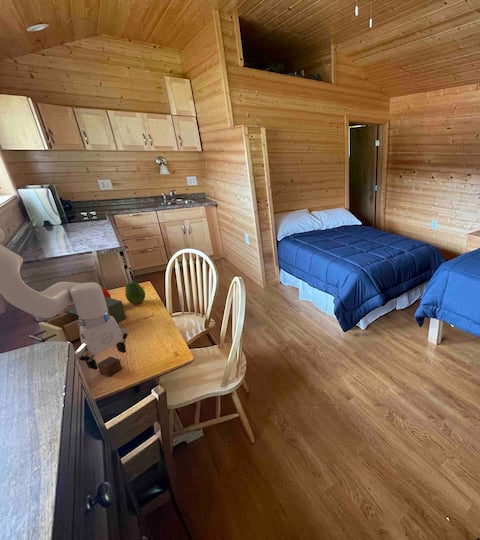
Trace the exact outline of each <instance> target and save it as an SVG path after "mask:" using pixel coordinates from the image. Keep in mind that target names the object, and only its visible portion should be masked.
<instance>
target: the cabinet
mask: <svg viewBox="0 0 480 540" xmlns="http://www.w3.org/2000/svg"><path fill="white" fill-rule="evenodd" d="M104 298H105V301H106V305H107V308H108V312H109V315H110V316H112V317H113V318H114V319H115V321H116V322H117V324H118V325H119V324H120V323H122V322H123V321H126V320H127V316H126V312H125V307H124V305H123V301H122V300H119V299H115V298H112V297H111V298H108V297H105V296H104ZM66 313H71V314H74V315H78V314H77V311H76V308H75V305H74V306H71V307H67V308H65V309H64V314H66Z"/></svg>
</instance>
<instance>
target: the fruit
mask: <svg viewBox="0 0 480 540" xmlns="http://www.w3.org/2000/svg"><path fill="white" fill-rule="evenodd" d="M124 290H125V293H124V294H125V298H126V300H127V302H129V303H131V304H133V305H137V304H141V303H142V302H144V300H145V298H146V292H145V289H144V288H143V287H142V286H141V285H140V284H139V283H138V282H136V281H135V280H134V281H133V280H132V281H128V282H127V283H126V285H125V289H124Z"/></svg>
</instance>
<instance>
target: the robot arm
mask: <svg viewBox="0 0 480 540" xmlns="http://www.w3.org/2000/svg"><path fill="white" fill-rule="evenodd" d="M5 237H6V234H5V232H4V229H2V228H1V227H0V294H1V296H2V297H3V298H4V299H5V301H7V302H8V303H9V304H10V305H12V306H14V307H15V308H17V309H19V310H21V311H23V312H25V313H27V314H29V315H32V316H34V317H35V316H38V317H43V318H49V317H53V316H55V317H57V315H59V314H61V313H62V312H63V311H65V310H66V309H68V308H69V306H72V305H74V306H75V308H76V311H77V314H78V317H79V322H78V323H76V326H77V327H80V337H79V339H80V343H81V345H80V346H79V348H78V349H77V350H75V352H74V353H75V354H76V356H77V358H76V359H77V360H79V361H82V362H83V361H84V362H85V363H86V366H87V367H88V368H89V369H92V370H95V371H96V370H99V368H98V365H97V364H98V363H97V361H96V359H95V355H96V356H97V355H98V354H101V353H103V352H105V351H106V350H108V349H110V348H112V347H114V346H115V345H116V348H117V352H120V353H122V354H126V353H127V350H126V349H127V347H126V344H125V343H126V339H127V337H128V335H129V330H130V328H129V327H126V326H122V327H121V326H120V325H119V323H118V324H117V322H116V321H115V319H114V318H113V317H112V316H110V315H109V312H108V308H107V305H106V301H105V298H104V295H103V291H102V288H103V287H102V286H101V284H99V283H98V282H93V281H91V282H83V283H82V282H73V281H59V282H56V283H54V284H52V285H51V286H49V287H47V288H45V289H44V290H42V291H43V292H41V293H39V292H40V291H38V290H35V289H34V288H32V287H31V286H29V285H28V284H26V282H24V280H23V279H22V276H21V268H22V266H23V264H24V258H23V257H22V256H21V255H19V254H17V253H15V252H14V251H12V250H11V249H9V248H8V247H5V246H4V245H2V244H1V243H3V241H4V240H5V239H6V238H5ZM101 287H102V288H101ZM84 352H85V353H84ZM83 353H84V355H82V354H83Z"/></svg>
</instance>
